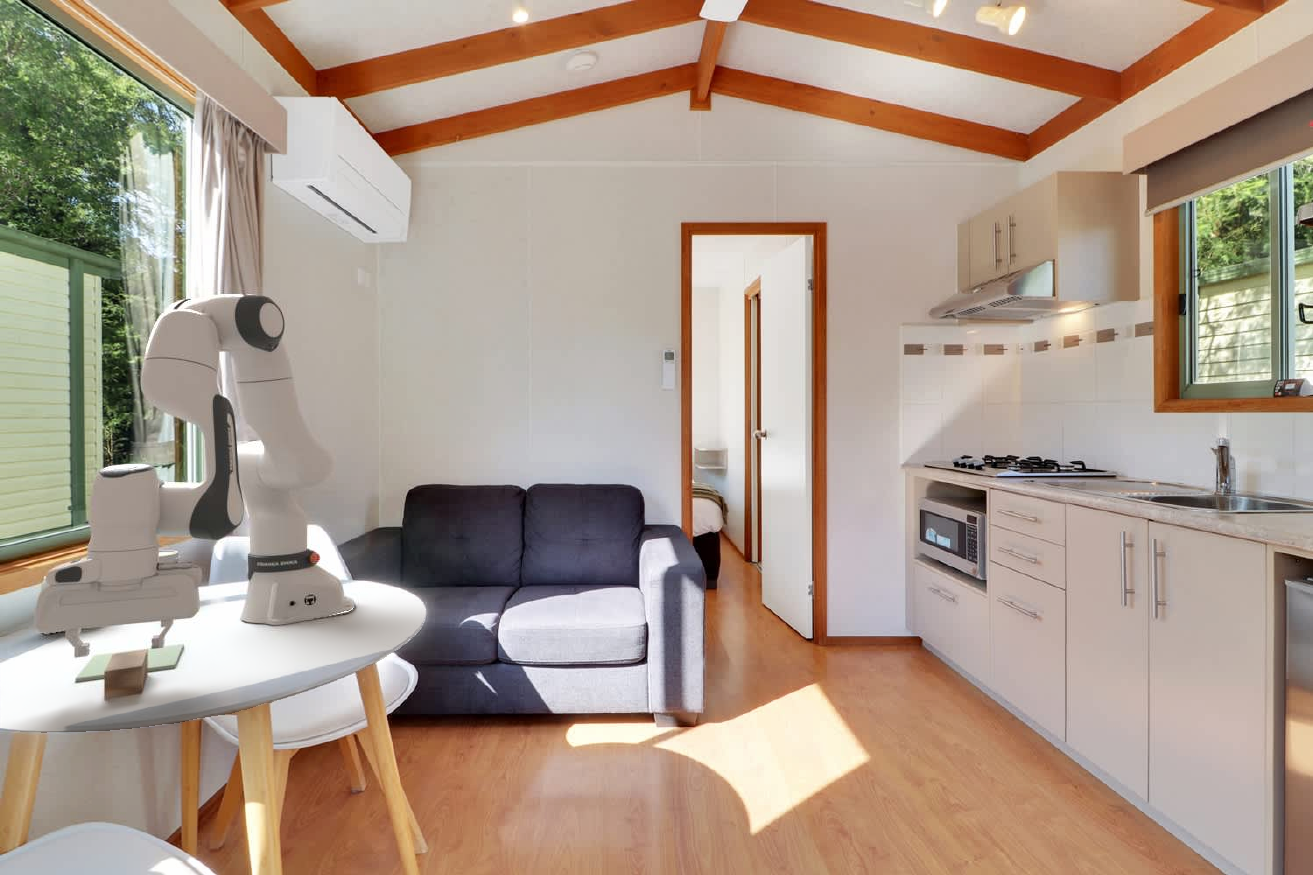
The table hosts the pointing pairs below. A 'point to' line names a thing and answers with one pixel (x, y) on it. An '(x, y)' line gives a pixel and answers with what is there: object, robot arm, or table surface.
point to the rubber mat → (156, 657)
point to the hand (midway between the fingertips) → (120, 651)
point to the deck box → (126, 674)
